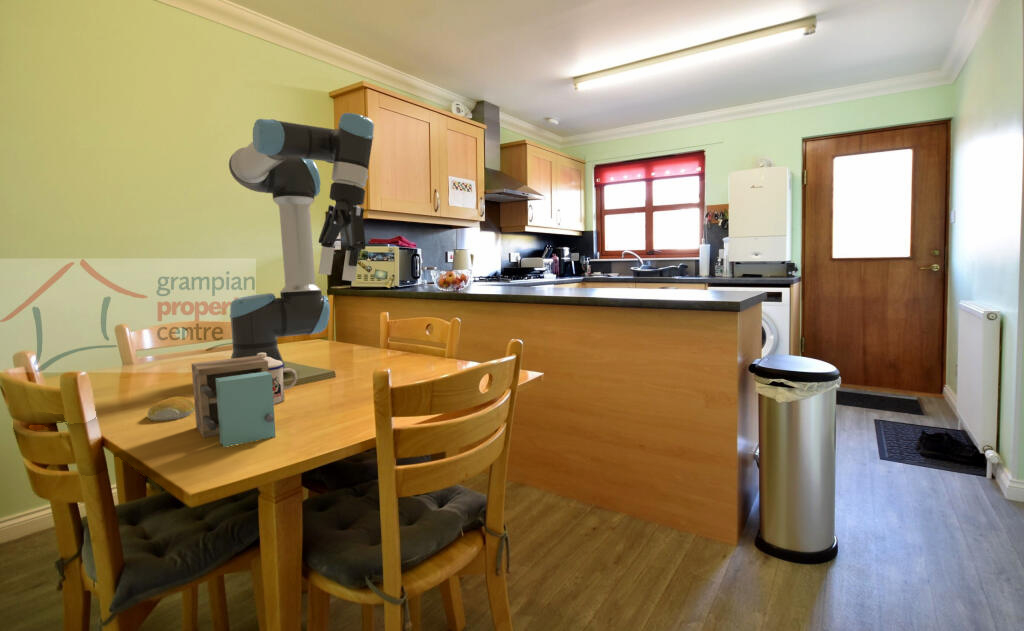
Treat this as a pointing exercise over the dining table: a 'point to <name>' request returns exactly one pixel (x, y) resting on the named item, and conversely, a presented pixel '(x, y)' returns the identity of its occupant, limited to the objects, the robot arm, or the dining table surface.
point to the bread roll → (171, 409)
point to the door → (245, 408)
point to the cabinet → (207, 387)
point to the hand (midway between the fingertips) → (336, 277)
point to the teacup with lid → (278, 377)
